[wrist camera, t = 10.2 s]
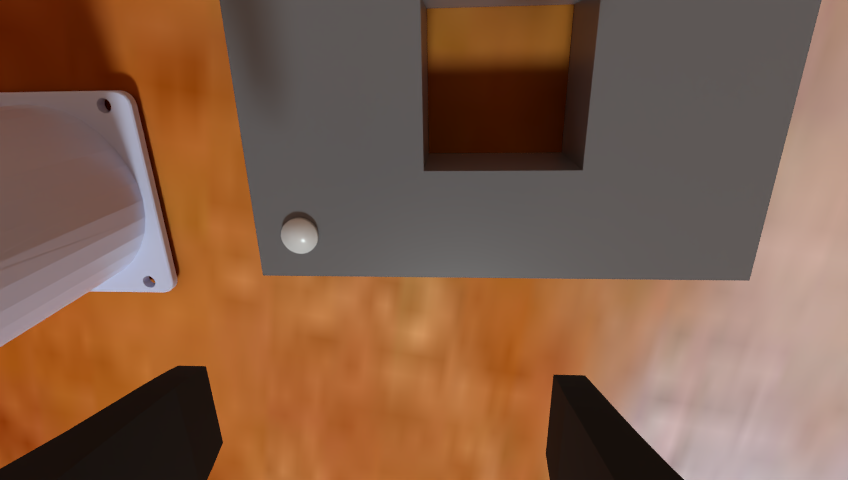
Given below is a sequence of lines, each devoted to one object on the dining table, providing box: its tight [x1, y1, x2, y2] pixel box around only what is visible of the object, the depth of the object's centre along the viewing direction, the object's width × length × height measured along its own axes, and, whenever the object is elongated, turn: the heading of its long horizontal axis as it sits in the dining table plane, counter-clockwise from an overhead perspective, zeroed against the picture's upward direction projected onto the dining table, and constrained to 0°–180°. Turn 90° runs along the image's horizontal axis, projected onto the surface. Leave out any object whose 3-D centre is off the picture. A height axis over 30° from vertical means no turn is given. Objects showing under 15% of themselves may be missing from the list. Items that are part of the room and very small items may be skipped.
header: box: [220, 0, 821, 280], centre depth 15 cm, size 16×12×3 cm
